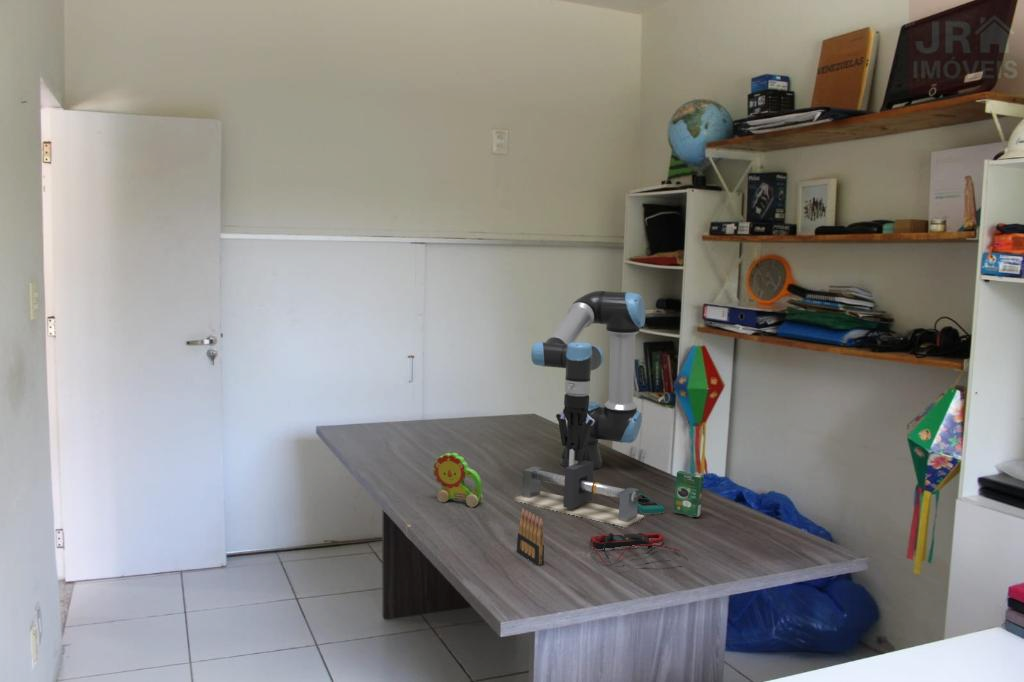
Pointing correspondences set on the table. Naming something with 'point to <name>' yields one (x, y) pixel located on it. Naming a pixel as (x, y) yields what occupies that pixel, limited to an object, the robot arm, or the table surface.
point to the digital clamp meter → (625, 541)
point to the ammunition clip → (531, 538)
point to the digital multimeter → (648, 505)
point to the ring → (577, 484)
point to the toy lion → (456, 479)
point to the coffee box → (688, 493)
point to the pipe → (626, 496)
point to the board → (577, 508)
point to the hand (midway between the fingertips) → (572, 470)
